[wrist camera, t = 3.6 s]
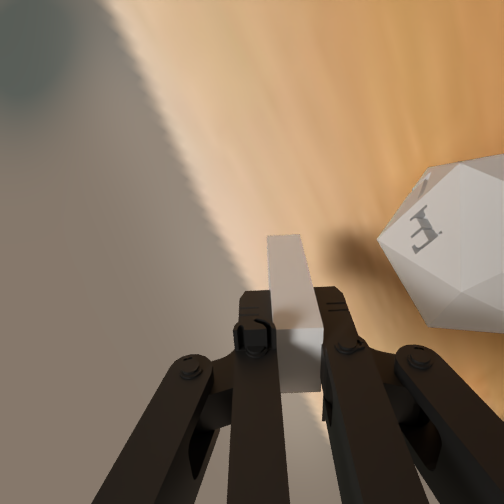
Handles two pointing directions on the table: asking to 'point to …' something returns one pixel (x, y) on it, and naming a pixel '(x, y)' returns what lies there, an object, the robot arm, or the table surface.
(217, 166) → the table surface
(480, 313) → the die
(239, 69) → the table surface
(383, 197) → the table surface
